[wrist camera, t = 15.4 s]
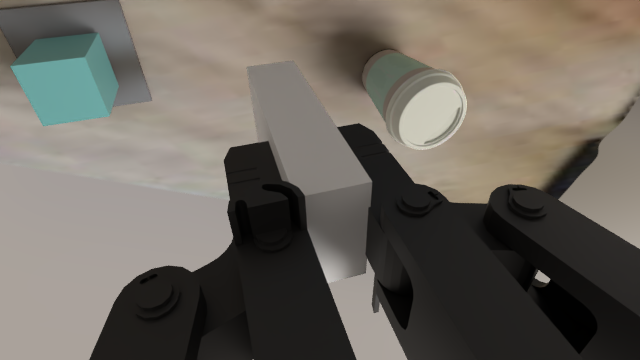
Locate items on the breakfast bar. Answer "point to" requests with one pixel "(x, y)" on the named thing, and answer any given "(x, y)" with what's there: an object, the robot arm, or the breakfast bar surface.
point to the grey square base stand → (77, 20)
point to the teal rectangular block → (67, 78)
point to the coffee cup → (414, 99)
